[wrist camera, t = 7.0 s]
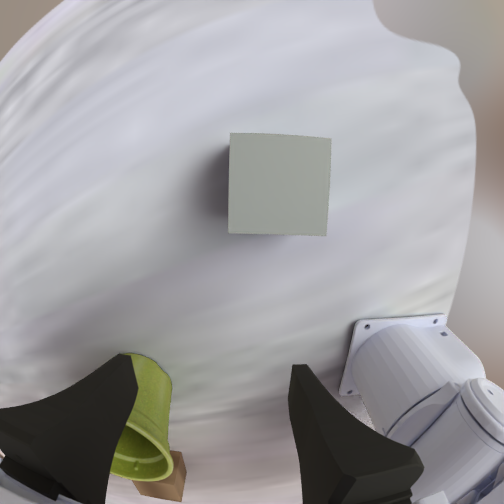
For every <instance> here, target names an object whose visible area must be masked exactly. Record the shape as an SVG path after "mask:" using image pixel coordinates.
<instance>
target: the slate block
mask: <svg viewBox="0 0 504 504" xmlns="http://www.w3.org/2000/svg"><path fill="white" fill-rule="evenodd" d="M330 168H331V139H330V138H320V137H309V136H297V135H281V134H259V133H230V152H229V198H228V233H237V234H276V235H308V236H326V232H327V219H328V205H329V188H330Z"/></svg>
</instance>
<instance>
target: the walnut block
mask: <svg viewBox="0 0 504 504" xmlns="http://www.w3.org/2000/svg"><path fill="white" fill-rule="evenodd" d="M170 455H171V457H172V459H173V465H174V466H173V471H172V473H171V474H170V475H169V476H168V477H167V478H165V479H162V480H159V481H136V480H132V481H133V483H134V485H135V486H136V488H137V489H138V491H139V493H140V494H141V495H145V496H150V497H154V498H160V499H165V500H171V501H178V502H182V496H183V490H184V484H185V478H186V468H185V465H184V461H183V457H182V454H181V452H177V451H170Z"/></svg>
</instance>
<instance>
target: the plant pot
mask: <svg viewBox="0 0 504 504" xmlns="http://www.w3.org/2000/svg"><path fill="white" fill-rule="evenodd" d="M124 355H131V358H132V363H133V367H134V371H135V375H136V379H137V383H138V387H139V389H138V393H137V397H136V400H135V404H134V407H133V409H132V412H131V414H130V416H129V418H128V421H127V423H126V425H125V427H124V430H123V432H122V434H121V437H120V439H119V441H118V444H117V447H116V450H115V454H114V457H113V461H112V465H111V469H110V473H111V474H114V475H117V476H120V477H123V478H126V479H130V480H136V481H159V480H162V479H165V478H167V477H168V476H169V475H170V474H171V473H172V471H173V466H174V465H173V459H172V457H171V455H170V447H169V443H168V441H167V440H168V423H169V410H170V402H171V392H172V384H171V380H170V378H169V376H168V375H167V374H166V373H165V372H163V371H162V370H161V369H160V367H159V366H158V365H157V364H156V362H154V361H153V360H151V359H149V358H147V357H144V356H141V355H138V354H132V353H126V354H124Z"/></svg>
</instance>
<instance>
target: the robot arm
mask: <svg viewBox="0 0 504 504" xmlns="http://www.w3.org/2000/svg"><path fill="white" fill-rule="evenodd" d="M434 320H435V321H434ZM433 321H434V322H433ZM446 322H447V316H446V315H445V314H436V315H426V316H414V317H401V318H386V319H368V320H359V321H357V322H356V323H355V326H354V330H353V335H352V340H351V344H350V349H349V353H348V357H347V361H346V365H345V369H344V373H343V377H342V381H341V385H340V388H339V394H340V396H350V395H359V394H360V395H361V398H362V400H363V402H364V404H365V407H366V409H367V411H368V414H369V416H370V418H371V421H372V423H373V425H374V428H375V430H376V431H374V430H373V429H371V428H370V427H368V426H366V425H365V424H363V423H362V422H360V421H359V420H358V419H356V418H355V417H354V416H353V415H351V414H350V413H349V412H348V411H347V410H346V409H345V408H344V407H342V406H341V405H340V404H339V403H338V402H337V401H336V400H335V398H334V397H333V396H332V395H331V394H330V393H329V392H328V391H327V390H326V388H325V387H324V386H323V385H322V384H321V382H320V381H319V380H318V379H317V377H316V376H315V375H314V373H313V372H312V371H311V369H310V368H309V366H308V365H307V364H301V365H293V366H292V373H291V380H290V387H289V394H288V404H289V415H290V421H291V425H292V430H293V434H294V439H295V443H296V448H297V452H298V457H299V463H300V473H301V484H302V497H303V504H504V390H503V389H501V388H500V387H498V386H497V385H496V384H494V383H493V382H491V381H489V380H487V379H486V375H485V371H484V368H483V365H482V363H481V361H480V359H479V358H478V357H477V356H476V355H475V354H474V353H473V352H472V351H471V350H470V349H469V348H468V347H467V346H466V345H465V344H464V343H463V342H462V341H461V340H460V339H459V338H458V337H457V336H456V335H454V333H452V332H451V331H450V330H449V329H448V328H447V327H446V326H445V325H446ZM367 324H369V325H368V326H367V327H365V325H367ZM364 327H365V328H364ZM138 389H139V387H138V383H137V379H136V375H135V371H134V367H133V363H132V358H131V355H124V354H118V355H116V356H115V357H113V358H112V359H111V360H109V361H108V362H106V363H105V364H104V365H102V366H101V367H100V368H98V369H97V370H95V371H94V372H93V373H91V374H90V375H88V376H87V377H85V378H84V379H82V380H80V381H79V382H77V383H76V384H74V385H72V386H71V387H69V388H67V389H65V390H63V391H61V392H59V393H57V394H55V395H52V396H50V397H47V398H45V399H42V400H39V401H36V402H33V403H29V404H25V405H21V406H16V407H9V408H1V409H0V449H1V451H2V452H3V453H4V454H5V457H4V459H2V458H1V457H0V504H105V499H106V491H107V485H108V479H109V474H110V469H111V465H112V461H113V457H114V454H115V450H116V447H117V444H118V441H119V439H120V437H121V434H122V432H123V430H124V427H125V425H126V423H127V421H128V418H129V416H130V414H131V412H132V409H133V407H134V404H135V400H136V397H137V393H138ZM349 390H351V391H349Z"/></svg>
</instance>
